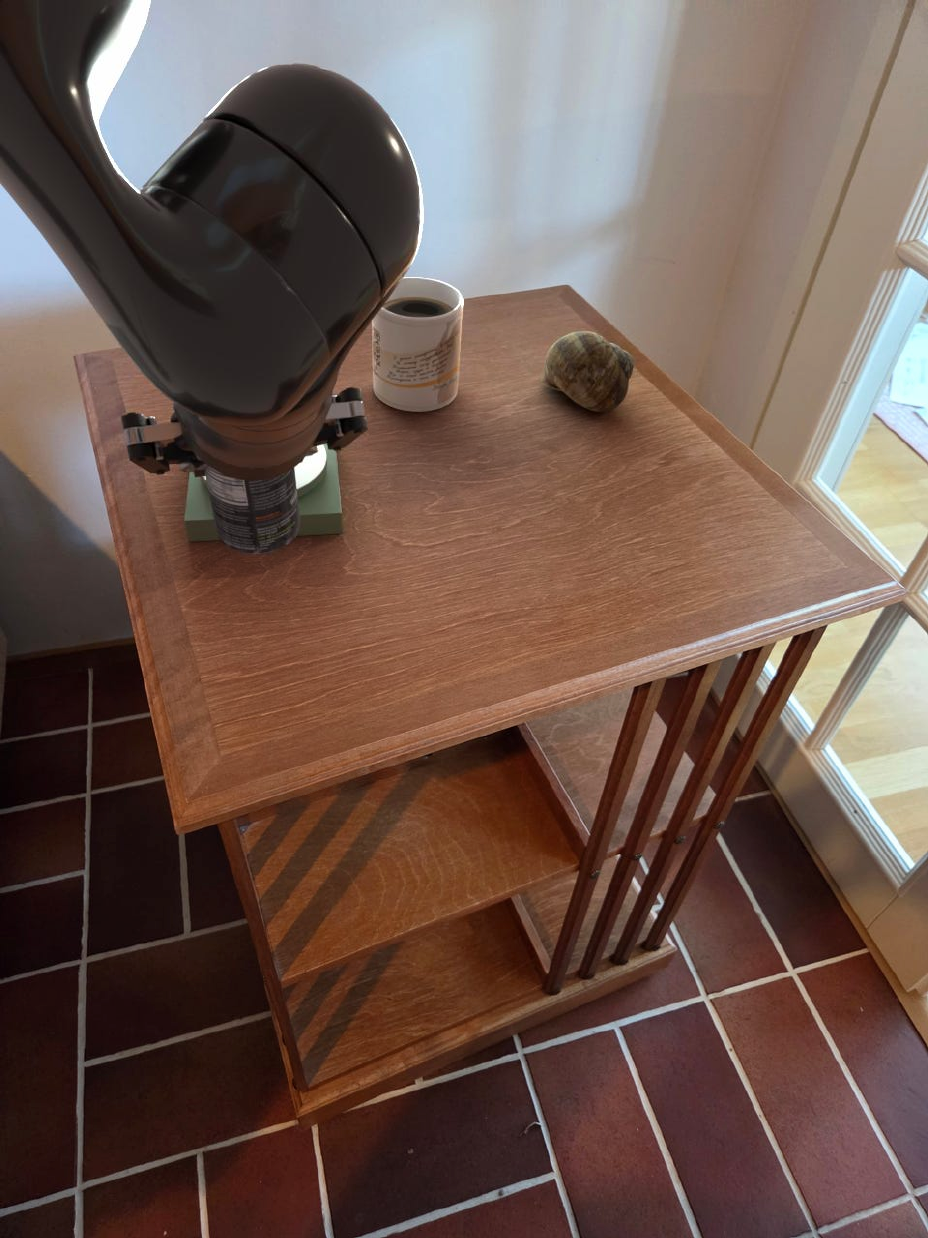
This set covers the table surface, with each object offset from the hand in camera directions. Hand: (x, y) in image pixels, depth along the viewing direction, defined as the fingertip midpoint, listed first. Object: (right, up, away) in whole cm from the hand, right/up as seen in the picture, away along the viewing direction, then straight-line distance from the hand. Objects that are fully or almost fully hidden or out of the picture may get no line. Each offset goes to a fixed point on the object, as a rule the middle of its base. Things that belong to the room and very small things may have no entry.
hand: (245, 455), depth 57 cm
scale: (-4, +1, +24) cm, 25 cm away
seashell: (+29, +14, +40) cm, 51 cm away
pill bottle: (0, -5, +3) cm, 6 cm away
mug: (+10, +16, +40) cm, 44 cm away
